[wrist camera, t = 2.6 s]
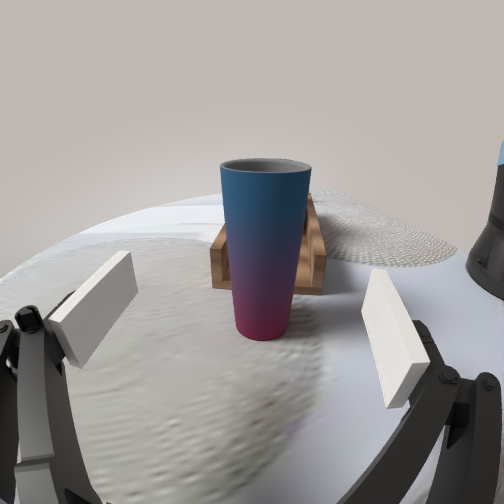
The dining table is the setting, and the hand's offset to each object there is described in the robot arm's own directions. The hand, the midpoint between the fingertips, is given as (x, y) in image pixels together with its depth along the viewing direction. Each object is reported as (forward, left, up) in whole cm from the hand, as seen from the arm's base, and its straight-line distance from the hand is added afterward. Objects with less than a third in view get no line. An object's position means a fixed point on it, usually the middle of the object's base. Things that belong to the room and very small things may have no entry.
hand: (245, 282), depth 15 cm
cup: (-6, -6, -10) cm, 14 cm away
